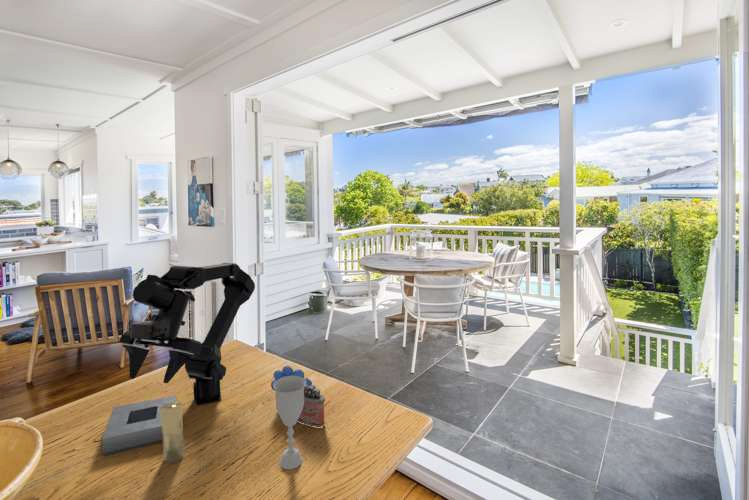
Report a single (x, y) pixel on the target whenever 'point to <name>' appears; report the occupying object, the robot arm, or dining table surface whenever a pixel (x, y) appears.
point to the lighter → (312, 407)
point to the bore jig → (134, 425)
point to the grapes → (289, 372)
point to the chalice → (290, 414)
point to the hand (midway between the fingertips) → (148, 380)
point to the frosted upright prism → (172, 432)
